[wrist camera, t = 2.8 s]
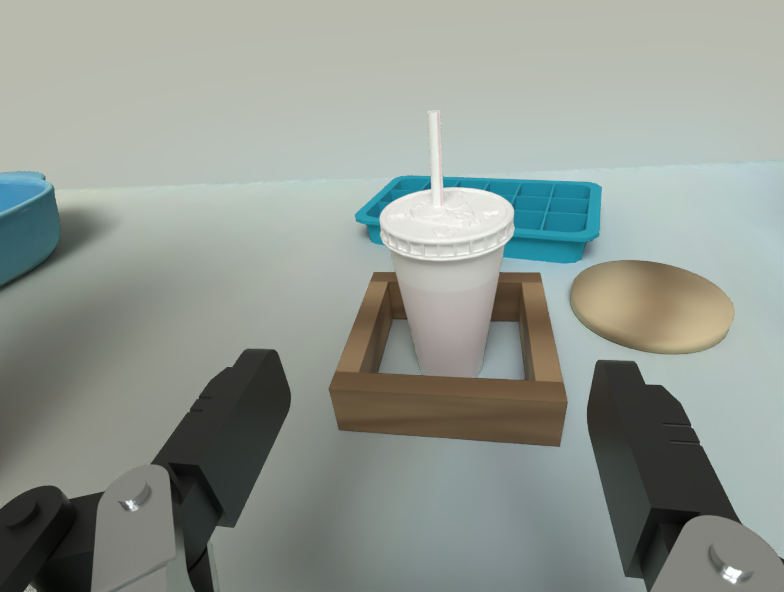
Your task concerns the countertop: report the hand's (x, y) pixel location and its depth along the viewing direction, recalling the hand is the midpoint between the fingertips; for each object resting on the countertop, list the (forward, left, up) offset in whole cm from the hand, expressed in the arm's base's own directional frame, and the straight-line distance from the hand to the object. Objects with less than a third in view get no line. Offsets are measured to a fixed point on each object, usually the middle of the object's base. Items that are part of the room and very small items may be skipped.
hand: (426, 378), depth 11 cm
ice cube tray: (-4, +30, -10) cm, 32 cm away
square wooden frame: (-2, +11, -10) cm, 15 cm away
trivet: (+9, +19, -10) cm, 23 cm away
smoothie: (-2, +11, -10) cm, 15 cm away
